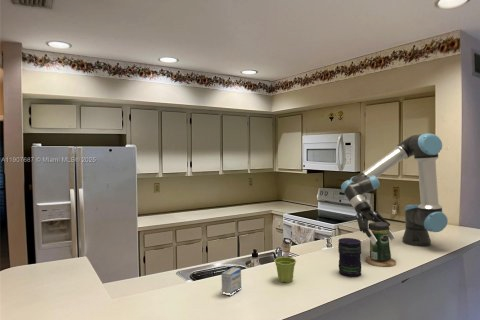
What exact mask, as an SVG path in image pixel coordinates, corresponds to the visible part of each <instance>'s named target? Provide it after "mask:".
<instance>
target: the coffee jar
mask: <svg viewBox="0 0 480 320" xmlns="http://www.w3.org/2000/svg"><path fill="white" fill-rule="evenodd" d="M389 228H390V226H389V225H388V223H386V222H368V230H369V229H370V230H371V232H372V233H373V235H374V236H375V238H376V239H377V242H376V243H375V244H373V243H372V241H371V240H370V239H369V245H370V246H369V256H370V258H371V259H372V260H374V261H375V260H376V261H386V260H390V259H391V258H392V254H391V246H390V238H389Z"/></svg>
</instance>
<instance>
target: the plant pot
mask: <svg viewBox="0 0 480 320" xmlns="http://www.w3.org/2000/svg"><path fill="white" fill-rule="evenodd" d="M273 262H274V264H275V266H276V272H277V278H278V279H277V280H278V281H279V282H280V281H281V283H291V282H293V279H294V271H295V265H296V263H297V260H296V258H294V257H287V256H280V257H276V258H275V259H274V260H273Z"/></svg>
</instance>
